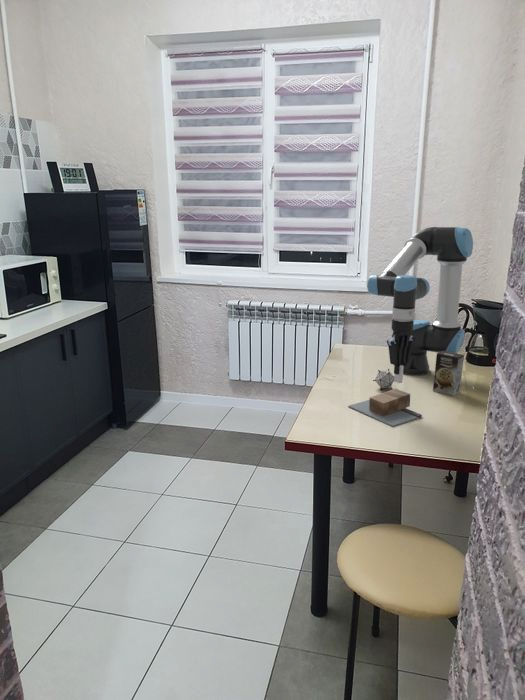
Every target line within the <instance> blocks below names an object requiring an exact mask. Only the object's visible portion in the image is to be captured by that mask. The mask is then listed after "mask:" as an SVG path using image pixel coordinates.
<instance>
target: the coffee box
mask: <svg viewBox="0 0 525 700" xmlns="http://www.w3.org/2000/svg"><path fill="white" fill-rule="evenodd" d="M464 359H465V354H463V353H452V352H447V351H442V352H439V353H437V352H436V359H435V366H434V367H435V368H434V377H433V385H432V386H433V388H432V391H433V392H437V393H441V394H443V395H444V394H445V395H448V396H452V397H455V396H456V395H458V394H459V393H461V383H462V375H463V368H464V367H463V366H464V362H465V360H464Z"/></svg>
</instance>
